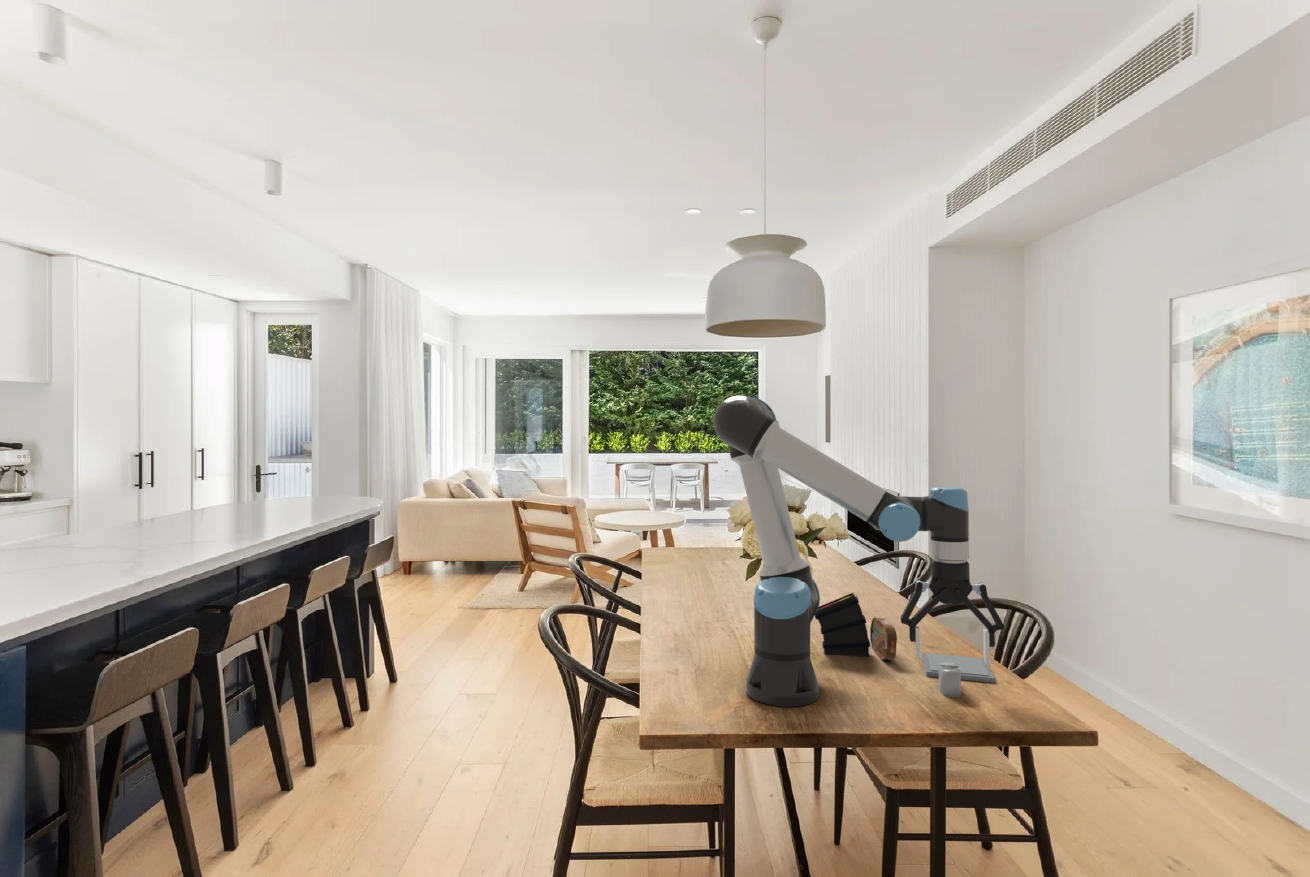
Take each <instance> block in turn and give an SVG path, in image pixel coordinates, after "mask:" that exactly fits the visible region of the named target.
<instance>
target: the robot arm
mask: <svg viewBox="0 0 1310 877" xmlns="http://www.w3.org/2000/svg"><path fill="white" fill-rule="evenodd" d="M713 428H714V430H715V431H714V432H715V433H716V435H717V437H718V438H719V439H720V441H722V442H723V443H724V444H725V445H727V447H728V448H727V449H728V451H729V455H730V460H732V461H733V462H734V463H736V464H737V465H738V466H739V469H740V473H741V477H742V481H743V484H744V490H745V493H746V499H747V502H748V506H749V510H750V514H751V518H752V522H753V526H754V531H755V534H756V539H757V542H758V547H759V551H760V555H761V559H762V563H763V566H762V568H761V569H760V571H759V573H758V575H759V579H760V581H759V582H758V583H757V584H756V585H755V588H754V595H753V597H752V598H753V606H754V607H753V608H754V609H753V610H754V612H753V616H754V617H753V618H754V619H753V620H754V622H753V624H754V630H753V631H754V632H753V633H754V634H753V636H754V641H753V642H754V643H753V644H754V656H753V658H752V661H751V664H750V667H749V671H748V674H747V677H746V682H745V693H746V695H747V696H748V697H750V698H751V699H752V700H755V701H757V702H758V703H761V704H765V705H770V706H774V707H775V706H776V707H787V708H790V707H802V706H806V705H810V704H812V703H815V702H816V701H817V700H818V699H819V697H820V696H819V694H820V692H819V691H820V689H819V688H820V687H819V682H818V679H817V675H816V672H815V669H814V666H813V663H812V660H811V623H812V621H813V619H814V618H815V614H816V612H817V610H818V607H819V606H820V603H821V602H820V601H821V595H820V590H819V587H818V585H817V583H816V581H815V580H814V579H813V575H812V572H811V567H810V563H809V562H808V561H806V560H805V559H803V558H802V557H801V556H800V551H799V548H798V547H799V546H798V543H797V540H796V535H795V530H794V527H793V522H792V519H791V515H790V511H789V507H788V503H787V499H786V494H785V490H784V487H783V483H782V482H783V481H782V479H781V475H780V470H781V471H782V472H783V473H786V474H787V475H789V476H790V477H792V478H794V479H795V480H797V481H799V482H800V483H802V484H803V485H805V486H807V487H808V488H811V489H812V490H814V491H816V492H817V493H818V494H820V495H821V496H823V497H825V498H826V499H828V500H830V501H832V502H833V503H835V504H837V505H838V506H840V507H842V508H843V509H845V510H847V511H849V513H851V514H853V515H855V516H856V517H858V518H859V519H861V520H863V521H864V522H866V523H868V524H869V525H870V526H872V527H873V528H874V530H876V531H880V532H881V533H882V534H883V535H884V537H886V538H887V539H889V540H891V541H893V542H900V543H902V542H906V541H910V540H912V538H914V537H915V536H916V535H917V534H918V532H930V557H931V558H932V560H931V561H930V574H931V576H930V578H931V579H930V582H925V581H922V580H920V579H917V580H915V588H914V591H913V593H912V595H911V596H910V599H909V601H908V603H906V606H905V608H904V610H903V611H902V613H901V616H900V623H901V624H903V625H906V626H908V628H909V631H908V632H909V640H910V642H912V643H914V648H915V649H914V651H915V652H914V655H915V659H919V660H920V659H921V653H920V652H921V650H920V649H921V648H920V647H921V646H920V645H921V644H920V642H921V641H920V626H919V623H921V621H922V620H923V619H924V618H925V617H926V616H927V615H928V614H929V612H931V610H932V609H933V608H934V607H935V606H936V605H938V604H939V603H941V604H943V605H949V604H953V605H957V606H959V605H961V604H962V603H963V604H964V605H965V606H966V607H967V608H968V609H969V611H971V612H972V613H973V615H974V616H975V617H976V618H977V619H978V620H979V621H980V623H981V624H982V625H983V626H984V627H985V628H983V629H982V634H983V635H982V637H983V641H982V642H983V646H982V647H983V658H984V661H985V663H986V664H987V665H990V664H991V662H990V659H991V658H990V657H991V656H990V648H995V646H996V637H995V636H996V632H997V631H1000V630H1001V631H1003V630H1004V629H1005V625H1004V622H1003V621H1002V620H1001V618H1000V616H999V614H998V612H997V610H996V608H995V607H994V605H993V603H992V601H991V600H990V597H989V596H988V590H987V586H986V585H985V583H984V582H979V583H978V584H977V583H975V584H973V583H972V584H971V581H970V578H971V577H970V575H971V574H970V562H969V561H968V560H969V559H970V542H969V541H970V540H969V539H970V538H969V535H970V534H969V533H970V532H969V528H970V526H969V522H970V520H969V517H970V516H969V515H970V514H969V513H970V512H969V511H970V509H969V498H968V492H967V491H966V490H965V489H964V488H962V487H959V486H957V487H956V486H935V487H931V488H930V489H929V493H928V495H925V496H905V495H904V496H903V495H901V496H900V495H899V496H898V495H894V494H893V493H890V492H889V491H887V490H886V489H884V488H882V487H881V486H878V485H877V484H875V483H874V482H873V481H870V480H868V479H867V478H865V477H863V476H862V475H861V474H859V473H857V472H855V471H854V470H852V469H850V468H849V467H848V466H845V465H843V464H842V463H840V462H838V461H837V460H835V459H834V458H831V457H830V456H828V455H827V454H825V453H823V452H821V451H820V450H818V449H817V448H815V447H813V446H812V445H810V444H808V443H807V442H805V441H803V440H801V439H800V438H798V437H796V436H795V435H793V434H792V433H790V432H788V431H786V430H784V429H783V428H782V427H781V426H780V423H779V420H777V418H776V415H775V413H774V411H773V409H772V407H770V405H769V404H768V403H766V402H765V401H764V400H762V399H760V398H758V397H752V396H745V395H735V396H730V397H728V398H727V399H725V400H724V401H722V402H721V403H720V404H719V405H718V407H717V408H716V410H715V413H714V416H713ZM927 589H929V590H930V591H931V593H932V594H931V596H930V597H929V599H928V600H927V601H926V602H924V604H923V605H922V606H921V607H920V608H919V609H918V611H916V613H915V614H914V615H913V616H912V617H911V615H912V613H913V612H914V609H915V607H916V606H917V604H918V602H919V600H920V598H921V596H922V593H925V592H926V591H927ZM973 591H974V592H975V593H976V595H978V596H979V597H981V599H982V601H983V603H984V605H985V607H986V609H987V610H988V612H989V614H990V616H991V617H992V619H993V622H992V623H991V622H990V620H989V619H988V618H987V617H986V616H985V615H984V614H983V612H981V610H980V609H979V608H978V607H977V606H976V605H975V604H974V603H973V602H972V601H971V599H970V598H969V595H970V594H971V593H972V592H973ZM910 617H911V618H910Z"/></svg>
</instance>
